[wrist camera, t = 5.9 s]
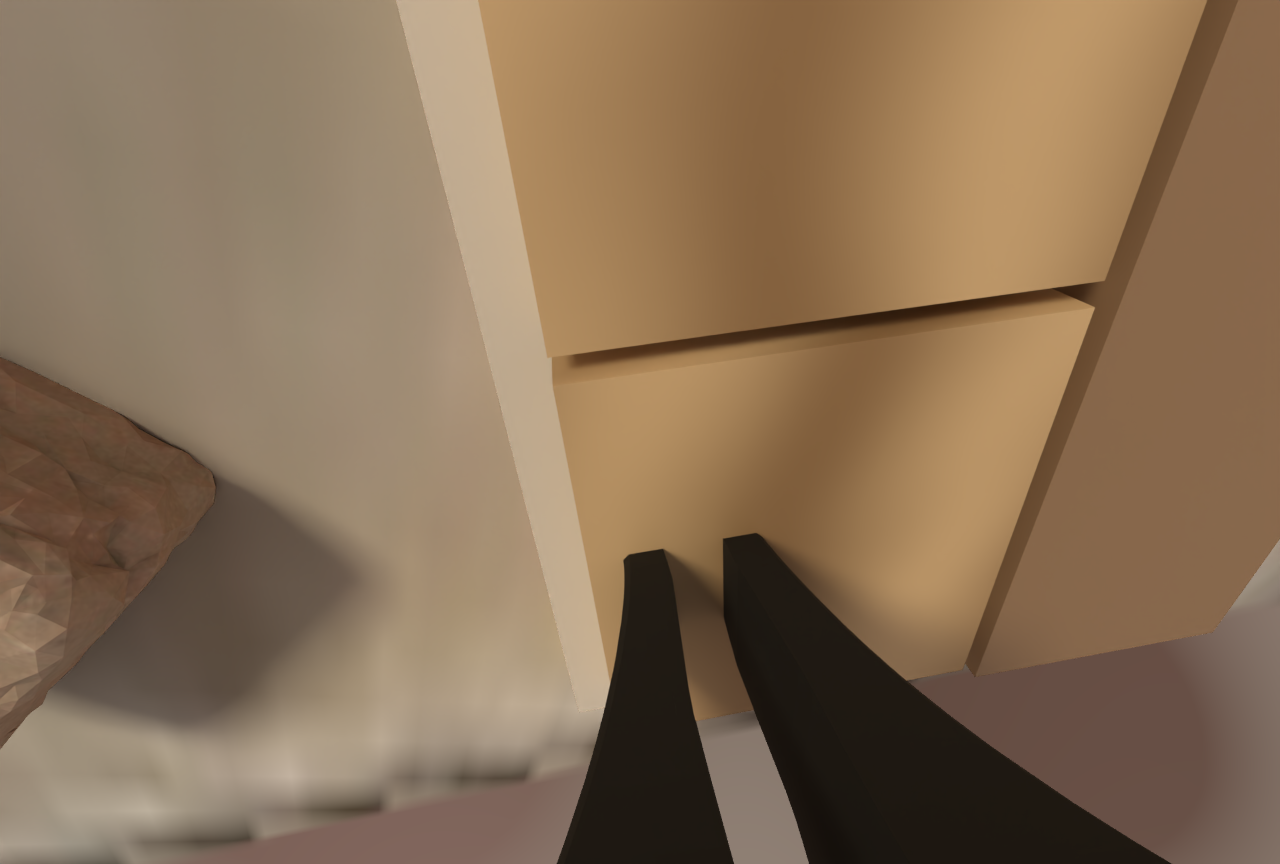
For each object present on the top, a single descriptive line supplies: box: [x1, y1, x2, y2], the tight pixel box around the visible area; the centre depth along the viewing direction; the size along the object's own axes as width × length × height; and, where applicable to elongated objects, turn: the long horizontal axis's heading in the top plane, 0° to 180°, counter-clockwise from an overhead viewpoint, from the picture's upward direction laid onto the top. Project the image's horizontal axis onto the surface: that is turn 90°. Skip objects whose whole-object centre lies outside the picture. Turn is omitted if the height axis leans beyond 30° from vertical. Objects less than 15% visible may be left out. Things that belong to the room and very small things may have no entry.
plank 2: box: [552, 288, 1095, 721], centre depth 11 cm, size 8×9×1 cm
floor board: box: [396, 0, 1280, 712], centre depth 9 cm, size 16×20×3 cm
